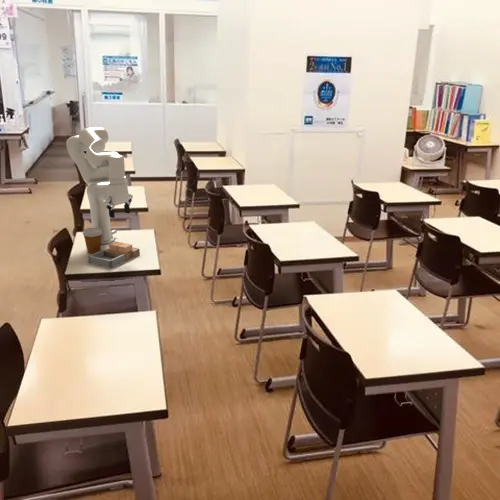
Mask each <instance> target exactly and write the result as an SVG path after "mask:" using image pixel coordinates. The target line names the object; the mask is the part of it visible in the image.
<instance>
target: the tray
mask: <svg viewBox="0 0 500 500" xmlns="http://www.w3.org/2000/svg"><path fill="white" fill-rule="evenodd" d="M104 250H105V249H101V251H99V252H96V253H94V254H92V255H90V254H88V255H87V259H88V260H87V262H88V264H91V265H96V266H100V267H103V268H108V269H109V268H110V269H112V268H115V267H117V266H119V265H121V264H123V263H125V262H126V261H125V255H124V254H123V255H120V256H118V257H116V258H110V257H106V256H104Z"/></svg>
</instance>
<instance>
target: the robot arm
mask: <svg viewBox="0 0 500 500" xmlns="http://www.w3.org/2000/svg"><path fill="white" fill-rule="evenodd" d="M108 141H109V133H108V131H107V130H106V128H104V127H101V126H99V127H98V126H97V127H87V128H82V129H81V130H80V131H79V133H78V135H73V136H70V137H69V138H67V139H66V150H67V153H68V155H69V156H70V158H71V160H72V161H73V162H74V163H75V164H76V166H77V168H78V171H79V173H80V175H81V178H82V179H83V181H84V182H85V184H87V185H88V186H87V187H86V196H87V199H88V203H89V209H90V210H89V211H90V219H91V221H90V223H91V228H100V229H101V230H102V237H101V245H107V244H108V245H109V244H110V243H113V242H115V237H114V236H113V235H115V234H116V233H118V231H117V230H116V229H113V230H112V227H111V218H112V219H115V217H116V216H115V209H114V208H115V207H116V206H119V205H122V204H124V205H123V207H124V213H125V214H130V213H131V211H130V206H131V203H132V202H133V198H134V195H133V194H130V193H129V188H128V185H127V181H126V180H127V177H126V169H125V167H126V165H125V157H124V156H123V155H121V154H119V152H117V151H107V152H106V151H105V152H104V150H105V148H106V144H107V143H108ZM85 152H86V153H85Z"/></svg>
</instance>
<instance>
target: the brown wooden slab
mask: <svg viewBox="0 0 500 500" xmlns="http://www.w3.org/2000/svg"><path fill="white" fill-rule="evenodd" d="M132 249H133V250H132V251H130V252H128V253H122V252H118V251H112V250H109V248H107V249H103V250H104V256H106V257H110V258H116V257H118V256H120V255H123V254H124V255H125V262H128V260H131V259H133V258H135V257H137V256H139V255H140V248H139V247H134V246H132Z"/></svg>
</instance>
